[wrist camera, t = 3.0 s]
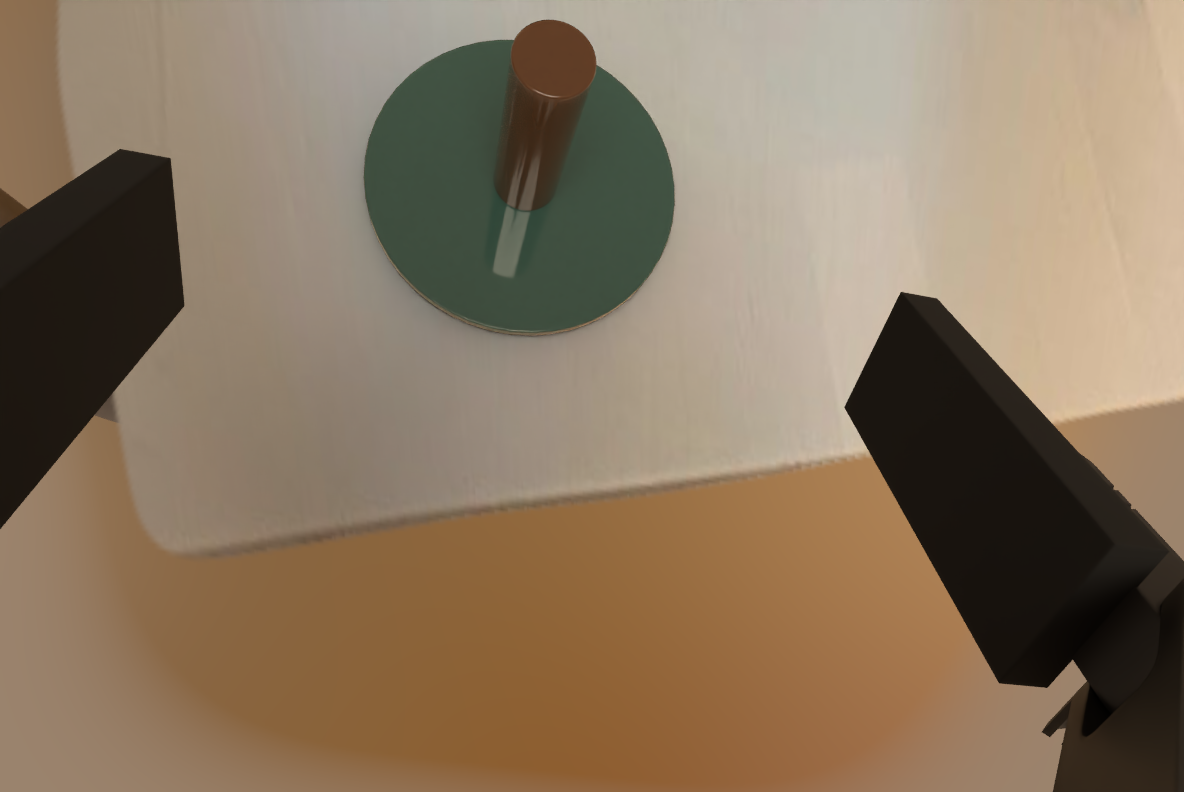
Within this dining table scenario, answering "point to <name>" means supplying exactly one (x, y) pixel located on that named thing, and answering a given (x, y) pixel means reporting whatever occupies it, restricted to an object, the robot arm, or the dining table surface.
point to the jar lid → (519, 184)
